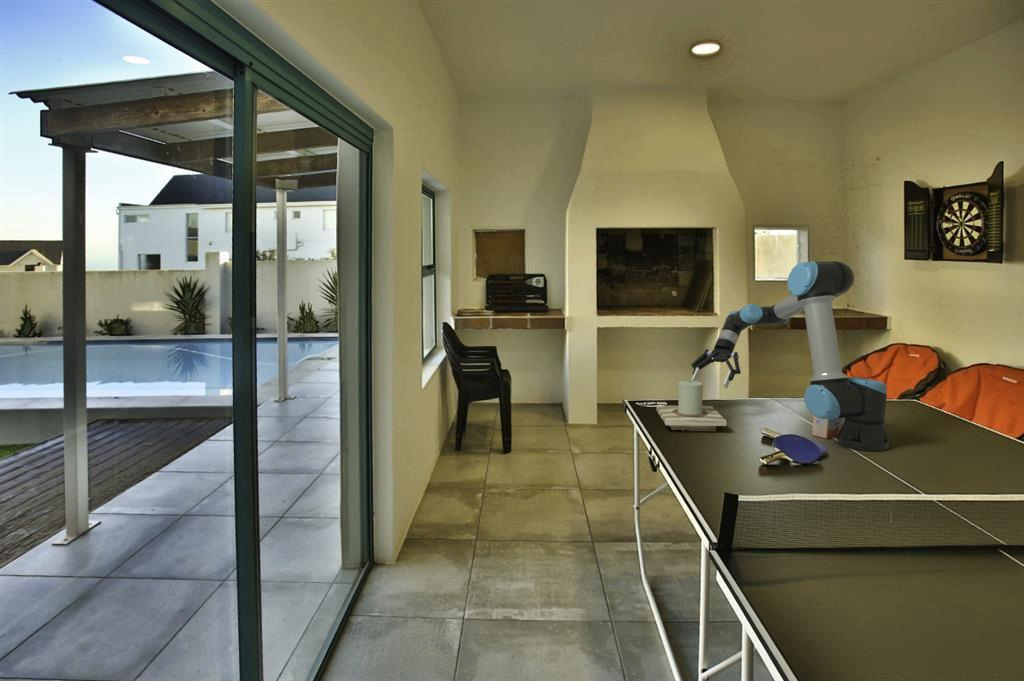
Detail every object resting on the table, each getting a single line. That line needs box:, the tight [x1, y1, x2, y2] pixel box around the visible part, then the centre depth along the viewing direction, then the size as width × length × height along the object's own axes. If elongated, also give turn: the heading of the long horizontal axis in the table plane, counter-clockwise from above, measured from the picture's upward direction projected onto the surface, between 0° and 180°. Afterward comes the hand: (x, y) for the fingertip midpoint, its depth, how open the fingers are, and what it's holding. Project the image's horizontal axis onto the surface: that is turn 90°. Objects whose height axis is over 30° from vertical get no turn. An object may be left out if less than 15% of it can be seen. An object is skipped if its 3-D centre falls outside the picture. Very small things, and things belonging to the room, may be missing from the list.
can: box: [677, 380, 704, 415], centre depth 224 cm, size 9×9×12 cm
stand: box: [656, 405, 727, 432], centre depth 225 cm, size 22×22×5 cm
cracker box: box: [811, 414, 845, 440], centre depth 210 cm, size 14×6×21 cm, turn 126°
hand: (708, 384), depth 232 cm, fingers open, 13 cm apart
